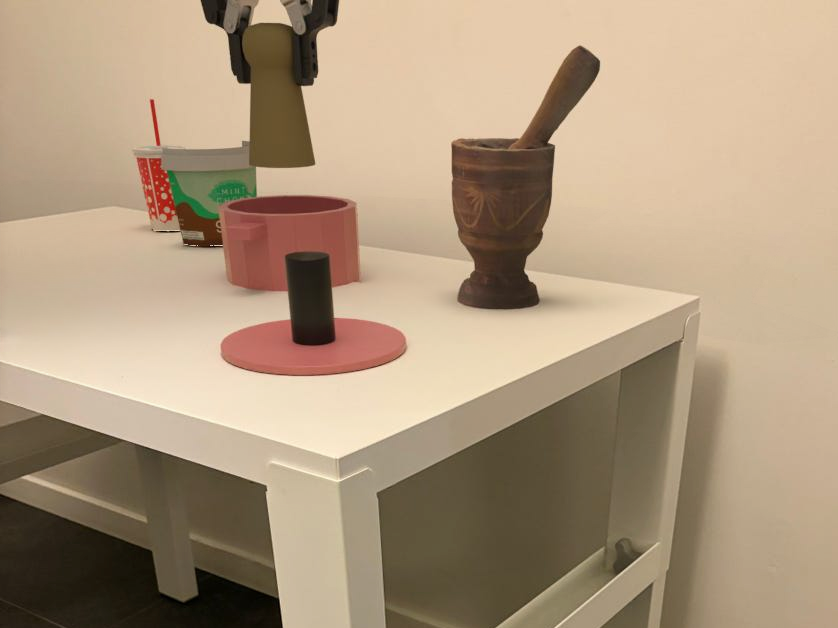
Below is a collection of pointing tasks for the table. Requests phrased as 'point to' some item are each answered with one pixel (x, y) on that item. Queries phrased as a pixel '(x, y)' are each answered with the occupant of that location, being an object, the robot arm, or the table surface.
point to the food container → (207, 187)
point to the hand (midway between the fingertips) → (275, 83)
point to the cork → (275, 100)
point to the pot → (288, 237)
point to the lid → (312, 330)
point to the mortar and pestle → (512, 193)
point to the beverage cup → (157, 182)
